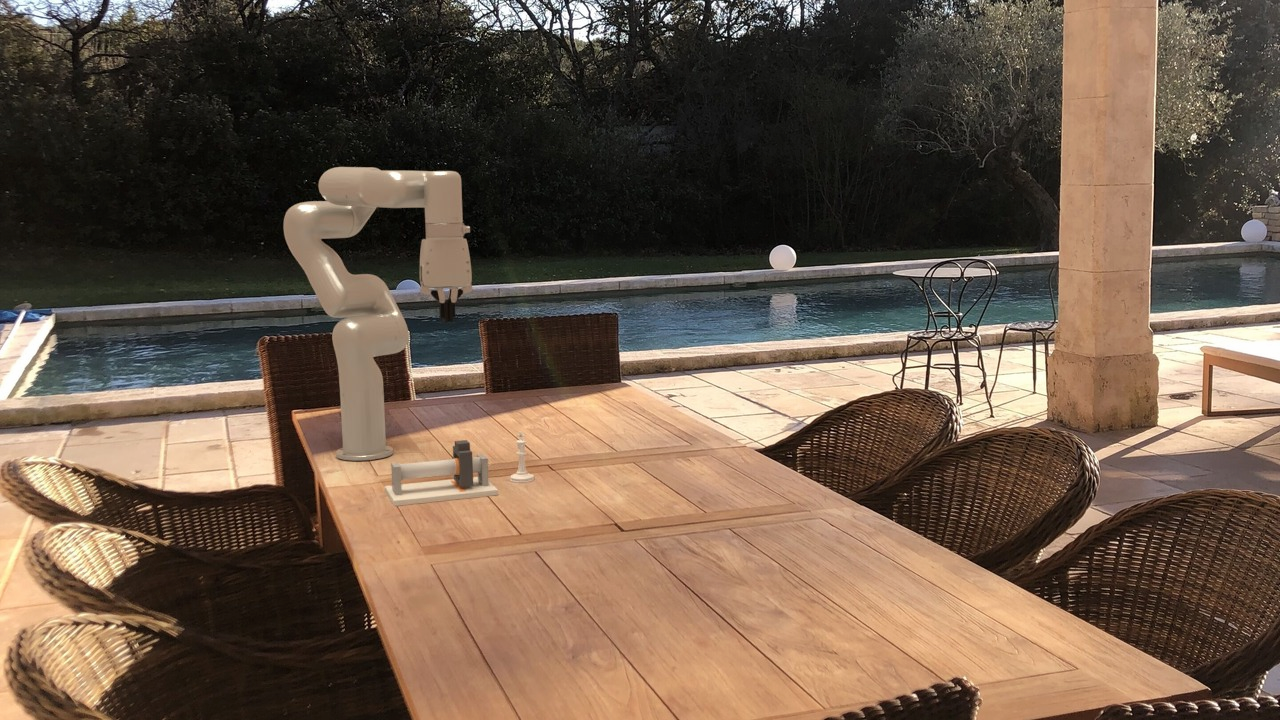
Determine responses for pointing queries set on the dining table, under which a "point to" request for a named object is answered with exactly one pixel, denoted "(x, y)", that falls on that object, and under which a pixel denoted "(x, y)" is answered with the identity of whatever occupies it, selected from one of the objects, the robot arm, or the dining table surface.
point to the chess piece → (521, 464)
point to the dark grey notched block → (463, 463)
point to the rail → (437, 482)
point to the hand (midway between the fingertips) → (447, 321)
